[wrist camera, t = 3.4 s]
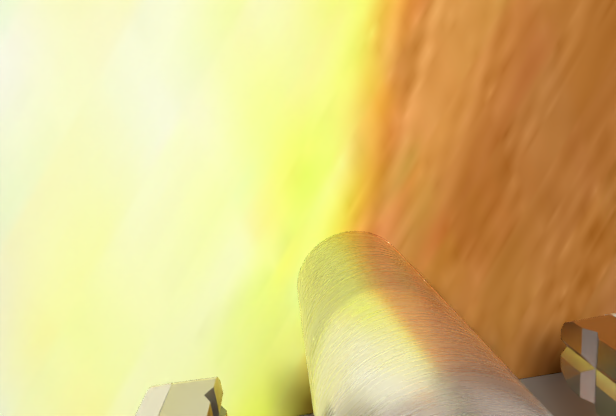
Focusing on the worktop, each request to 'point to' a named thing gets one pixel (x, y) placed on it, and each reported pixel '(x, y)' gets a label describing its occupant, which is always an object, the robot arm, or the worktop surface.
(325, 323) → the peg
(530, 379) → the box
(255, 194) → the worktop surface
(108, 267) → the worktop surface
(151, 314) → the worktop surface
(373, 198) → the worktop surface
